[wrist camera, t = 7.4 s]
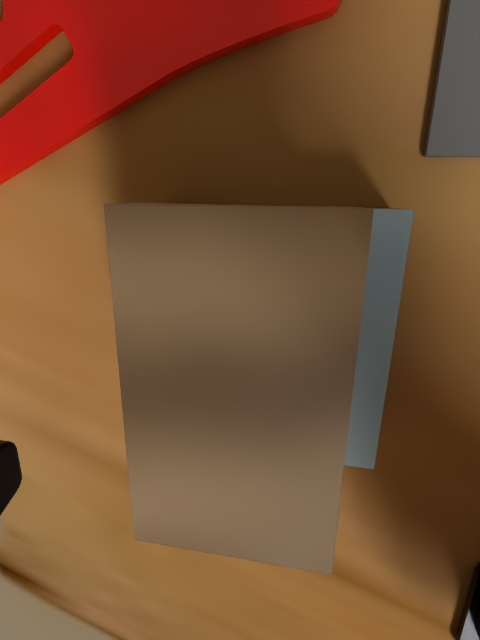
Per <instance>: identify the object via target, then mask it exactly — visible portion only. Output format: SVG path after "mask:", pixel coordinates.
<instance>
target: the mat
mask: <svg viewBox="0 0 480 640" xmlns="http://www.w3.org/2000/svg"><path fill="white" fill-rule="evenodd" d="M424 157H480V0H448V3H447V10H446V16H445V22H444V29H443V35H442V42H441V48H440V55H439V61H438V67H437V74H436V80H435V87H434V93H433V99H432V106H431V112H430V119H429V125H428V131H427V138H426V144H425V151H424Z"/></svg>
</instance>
